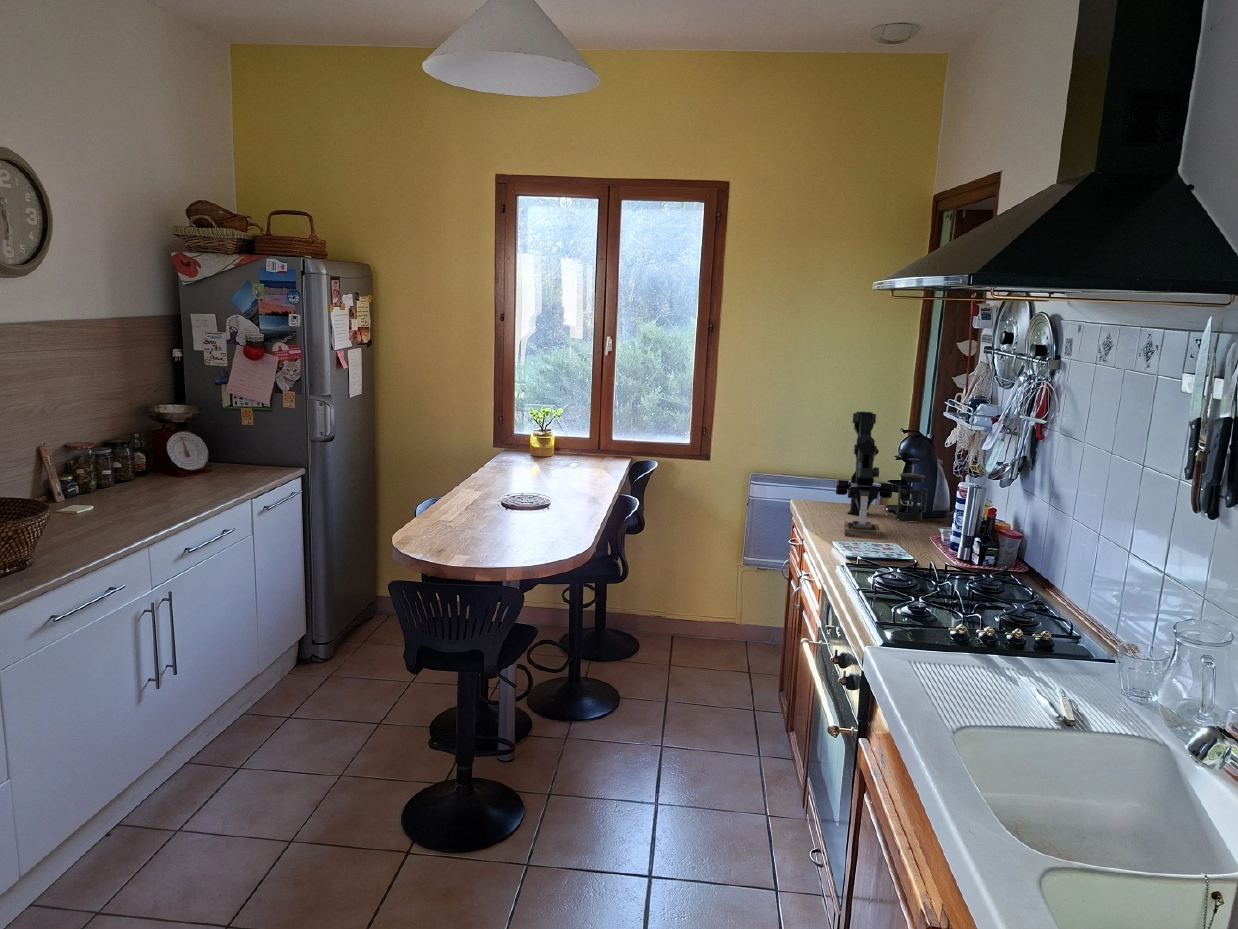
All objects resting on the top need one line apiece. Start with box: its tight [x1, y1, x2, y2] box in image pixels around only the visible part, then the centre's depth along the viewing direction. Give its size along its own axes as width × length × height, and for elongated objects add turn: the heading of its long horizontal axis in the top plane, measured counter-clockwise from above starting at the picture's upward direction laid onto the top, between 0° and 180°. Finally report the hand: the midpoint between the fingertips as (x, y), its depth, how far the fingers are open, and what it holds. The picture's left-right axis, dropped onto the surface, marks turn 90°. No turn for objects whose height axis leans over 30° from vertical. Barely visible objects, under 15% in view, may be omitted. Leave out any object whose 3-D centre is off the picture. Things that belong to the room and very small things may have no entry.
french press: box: [895, 457, 930, 522], centre depth 322 cm, size 12×9×23 cm
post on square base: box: [852, 489, 872, 530], centre depth 298 cm, size 6×6×13 cm
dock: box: [843, 521, 881, 540], centre depth 299 cm, size 11×11×2 cm
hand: (863, 509), depth 296 cm, fingers closed on post on square base, 2 cm apart
